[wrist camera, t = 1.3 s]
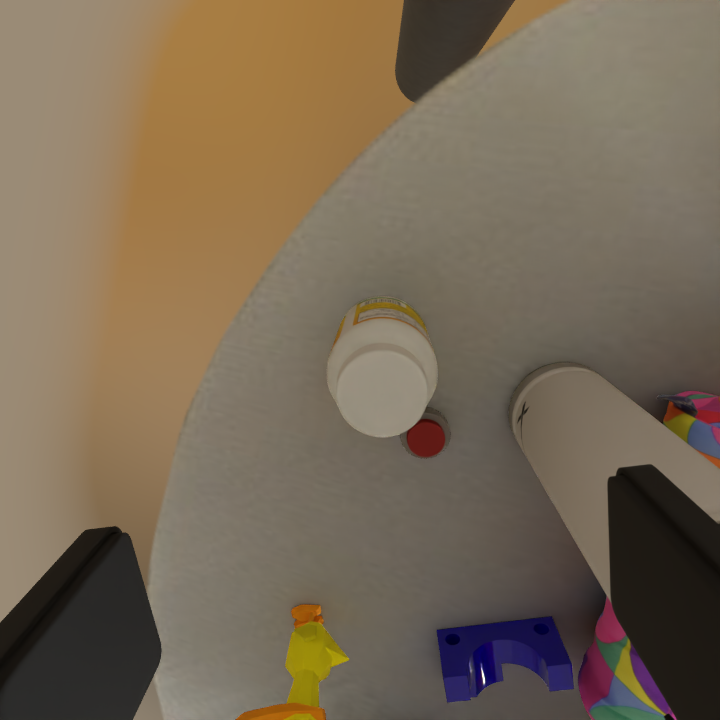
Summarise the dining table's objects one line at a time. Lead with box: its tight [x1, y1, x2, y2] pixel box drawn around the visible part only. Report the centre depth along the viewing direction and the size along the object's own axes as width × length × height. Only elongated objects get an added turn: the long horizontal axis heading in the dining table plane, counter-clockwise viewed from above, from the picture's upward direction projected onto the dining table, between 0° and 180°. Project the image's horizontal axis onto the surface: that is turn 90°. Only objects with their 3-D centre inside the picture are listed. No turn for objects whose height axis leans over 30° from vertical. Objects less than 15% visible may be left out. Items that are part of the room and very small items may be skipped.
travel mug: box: [508, 362, 720, 720], centre depth 24 cm, size 6×7×20 cm
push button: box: [400, 407, 451, 459], centre depth 33 cm, size 3×3×2 cm
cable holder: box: [437, 616, 574, 703], centre depth 36 cm, size 8×4×4 cm, turn 100°
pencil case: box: [578, 391, 720, 720], centre depth 31 cm, size 22×9×9 cm, turn 173°
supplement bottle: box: [327, 296, 438, 437], centre depth 28 cm, size 5×5×10 cm
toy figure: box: [236, 604, 350, 720], centre depth 32 cm, size 7×4×12 cm, turn 101°
